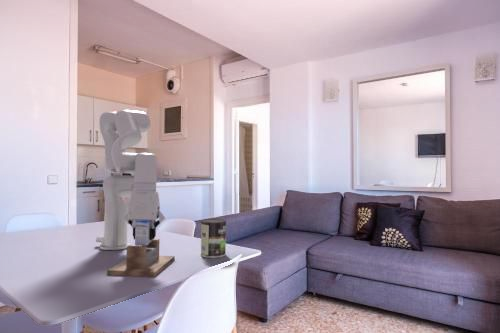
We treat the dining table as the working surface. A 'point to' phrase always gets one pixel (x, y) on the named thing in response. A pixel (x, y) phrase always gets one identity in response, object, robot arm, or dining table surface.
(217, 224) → the coffee can
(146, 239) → the medicine box
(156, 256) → the display stand
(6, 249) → the dining table surface
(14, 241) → the dining table surface
